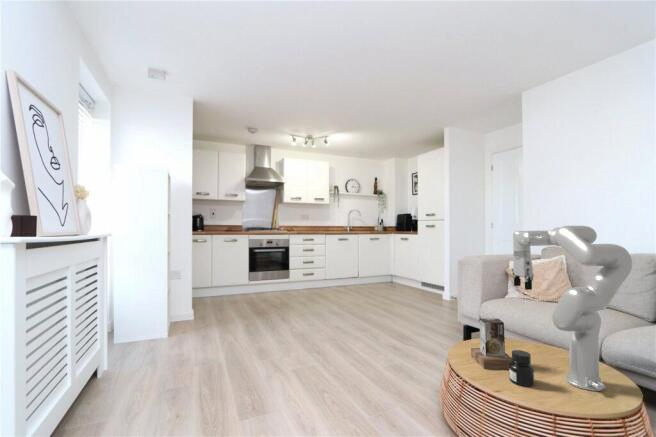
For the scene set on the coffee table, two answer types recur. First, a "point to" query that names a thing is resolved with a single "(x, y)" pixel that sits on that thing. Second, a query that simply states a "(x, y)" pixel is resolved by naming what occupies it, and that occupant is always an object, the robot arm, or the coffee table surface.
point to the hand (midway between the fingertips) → (522, 287)
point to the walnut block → (491, 360)
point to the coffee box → (492, 337)
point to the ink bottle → (521, 369)
